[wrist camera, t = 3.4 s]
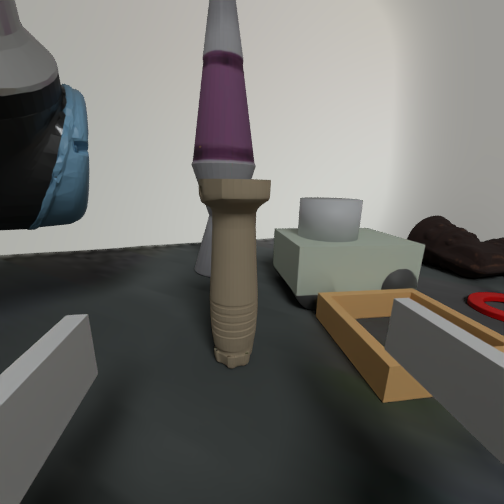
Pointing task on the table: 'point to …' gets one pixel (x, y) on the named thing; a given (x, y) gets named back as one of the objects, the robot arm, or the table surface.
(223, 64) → the lamp
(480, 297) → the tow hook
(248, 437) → the table surface
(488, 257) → the dark brown irregular lump
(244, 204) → the handle
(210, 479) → the table surface
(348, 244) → the grey and tan pieces
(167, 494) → the table surface
